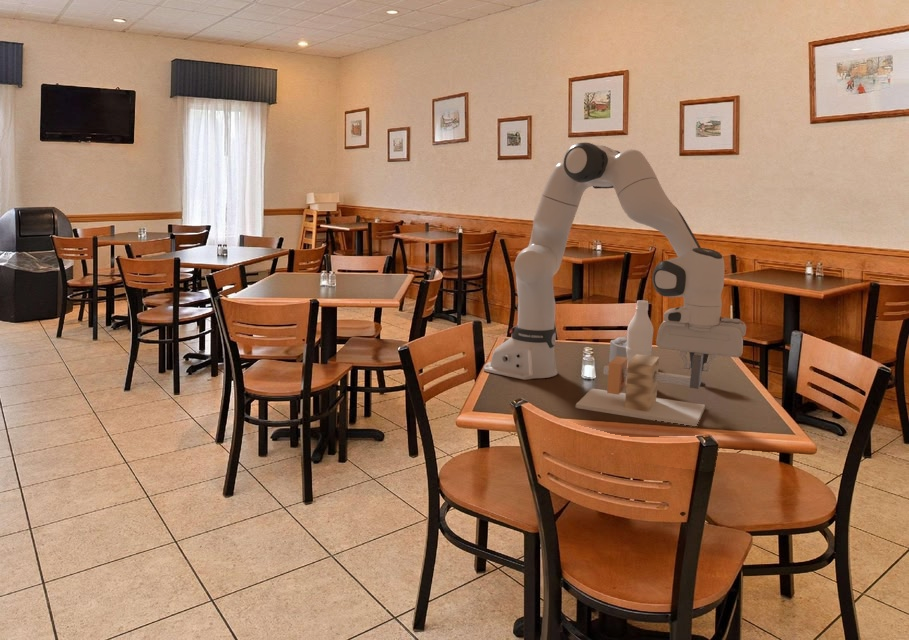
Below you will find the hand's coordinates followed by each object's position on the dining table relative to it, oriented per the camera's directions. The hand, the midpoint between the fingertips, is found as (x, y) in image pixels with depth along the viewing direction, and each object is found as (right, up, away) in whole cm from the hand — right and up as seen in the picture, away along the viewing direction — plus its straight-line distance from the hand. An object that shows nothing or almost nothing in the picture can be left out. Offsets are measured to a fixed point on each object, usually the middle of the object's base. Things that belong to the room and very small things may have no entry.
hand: (696, 369), depth 176 cm
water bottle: (-8, -7, +27) cm, 29 cm away
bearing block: (-12, -10, +8) cm, 17 cm away
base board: (-12, -11, +8) cm, 18 cm away
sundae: (+11, -6, +31) cm, 33 cm away
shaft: (-10, -3, +5) cm, 12 cm away
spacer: (-18, -6, +10) cm, 21 cm away
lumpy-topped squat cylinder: (-5, -2, +50) cm, 51 cm away
